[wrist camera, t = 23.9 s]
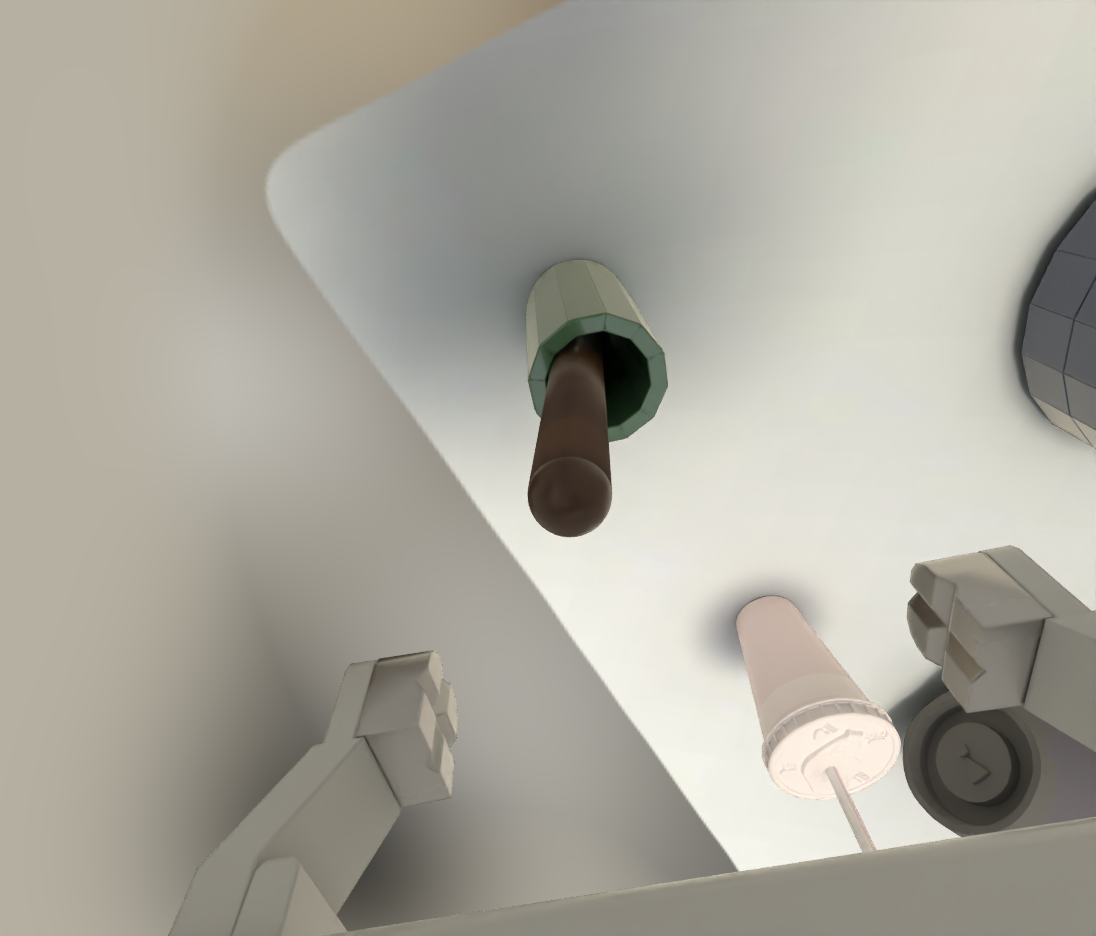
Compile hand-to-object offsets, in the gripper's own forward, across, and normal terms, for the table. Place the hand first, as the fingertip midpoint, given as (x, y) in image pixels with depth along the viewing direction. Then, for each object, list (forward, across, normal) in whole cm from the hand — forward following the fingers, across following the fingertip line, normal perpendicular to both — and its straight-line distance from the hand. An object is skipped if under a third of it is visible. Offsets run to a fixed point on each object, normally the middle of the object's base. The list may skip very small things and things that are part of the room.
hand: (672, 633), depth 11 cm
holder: (+21, 0, 0) cm, 21 cm away
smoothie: (+21, -8, +21) cm, 31 cm away
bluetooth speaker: (+21, -26, +37) cm, 50 cm away
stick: (+20, 0, 0) cm, 20 cm away
